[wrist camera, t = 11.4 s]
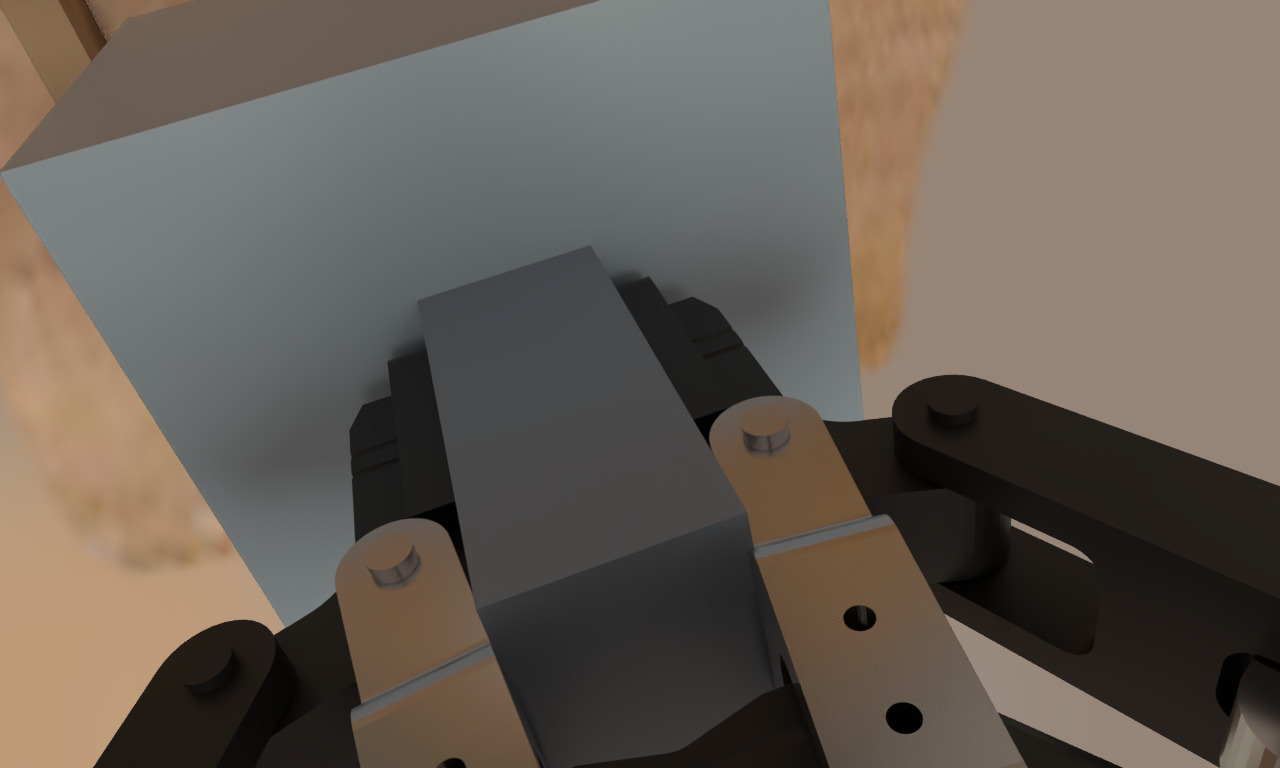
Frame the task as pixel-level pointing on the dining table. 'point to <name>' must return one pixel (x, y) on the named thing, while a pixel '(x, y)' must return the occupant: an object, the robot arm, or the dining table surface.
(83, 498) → the dining table surface
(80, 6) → the wall
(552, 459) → the grey block with handle
